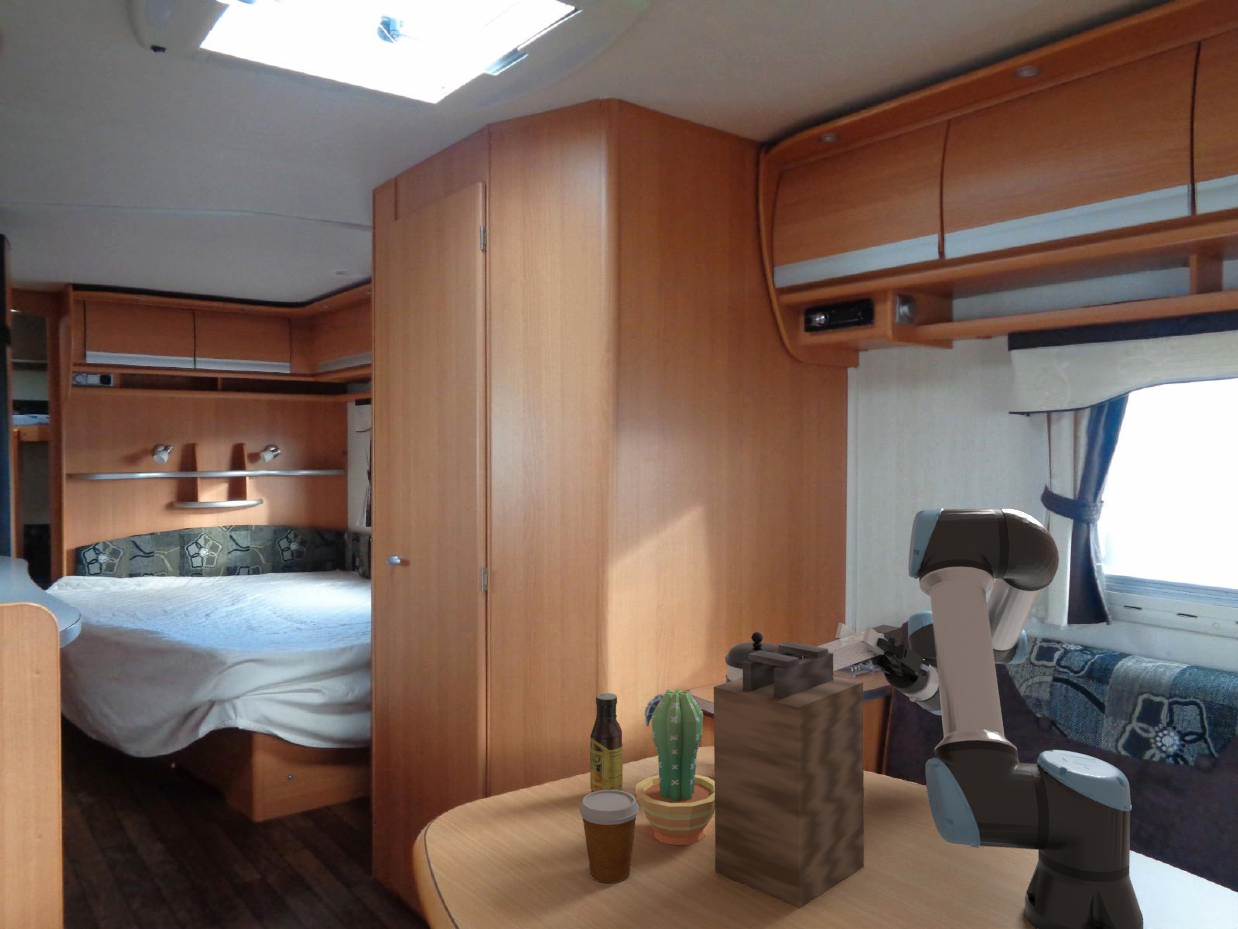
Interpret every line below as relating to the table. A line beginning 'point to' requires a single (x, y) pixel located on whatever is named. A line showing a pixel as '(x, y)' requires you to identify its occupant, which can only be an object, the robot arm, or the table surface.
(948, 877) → the table surface
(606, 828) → the disposable coffee cup
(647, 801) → the potted cactus
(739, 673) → the coffee press
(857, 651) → the white bar dark ends
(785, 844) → the walnut post
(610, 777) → the sauce bottle
